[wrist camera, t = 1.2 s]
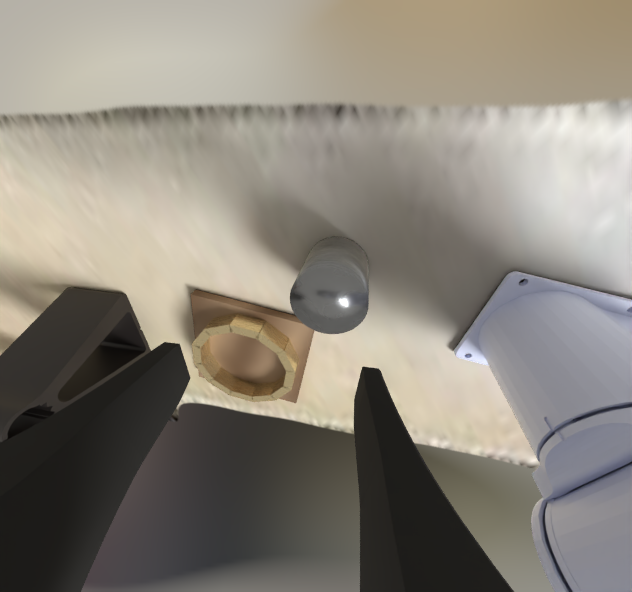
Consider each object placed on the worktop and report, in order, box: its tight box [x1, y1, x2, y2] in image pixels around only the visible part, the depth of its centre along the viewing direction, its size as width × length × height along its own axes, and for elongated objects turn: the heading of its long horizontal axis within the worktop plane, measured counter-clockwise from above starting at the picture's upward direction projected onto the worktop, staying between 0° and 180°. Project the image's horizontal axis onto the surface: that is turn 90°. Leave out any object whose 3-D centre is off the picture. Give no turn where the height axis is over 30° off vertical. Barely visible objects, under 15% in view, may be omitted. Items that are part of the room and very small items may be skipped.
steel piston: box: [290, 237, 369, 334], centre depth 17 cm, size 5×5×5 cm
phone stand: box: [0, 287, 151, 443], centre depth 22 cm, size 9×6×12 cm, turn 178°
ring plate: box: [191, 290, 314, 403], centre depth 24 cm, size 11×11×2 cm
